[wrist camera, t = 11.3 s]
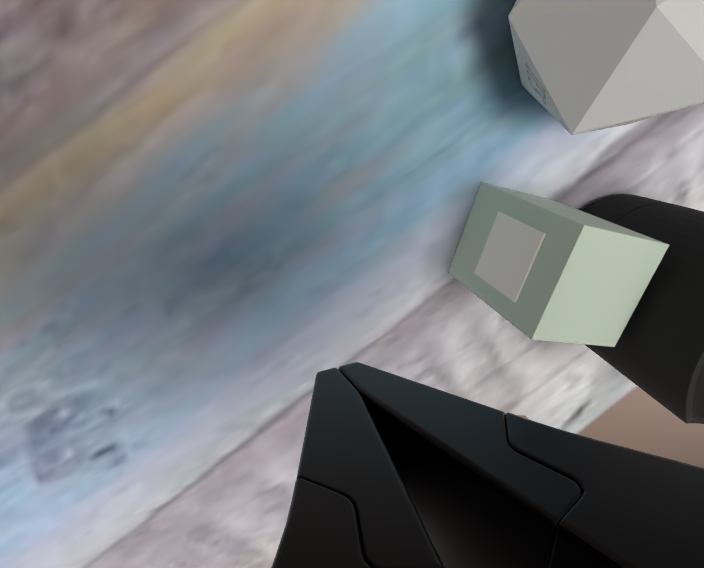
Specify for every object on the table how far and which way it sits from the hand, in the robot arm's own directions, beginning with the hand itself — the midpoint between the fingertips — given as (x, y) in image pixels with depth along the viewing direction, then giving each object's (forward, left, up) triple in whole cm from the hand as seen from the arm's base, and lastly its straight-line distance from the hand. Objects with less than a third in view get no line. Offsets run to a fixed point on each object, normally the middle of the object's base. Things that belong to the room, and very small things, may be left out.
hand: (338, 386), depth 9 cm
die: (+15, +6, -13) cm, 21 cm away
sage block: (+13, -4, -13) cm, 19 cm away
